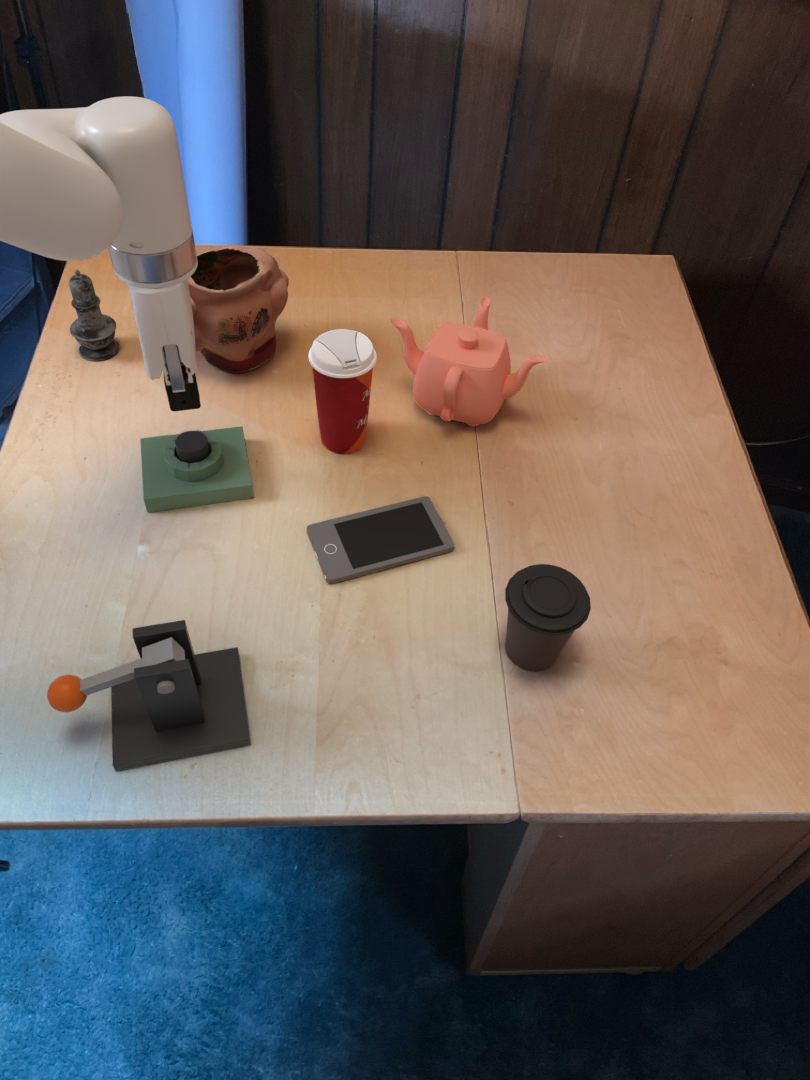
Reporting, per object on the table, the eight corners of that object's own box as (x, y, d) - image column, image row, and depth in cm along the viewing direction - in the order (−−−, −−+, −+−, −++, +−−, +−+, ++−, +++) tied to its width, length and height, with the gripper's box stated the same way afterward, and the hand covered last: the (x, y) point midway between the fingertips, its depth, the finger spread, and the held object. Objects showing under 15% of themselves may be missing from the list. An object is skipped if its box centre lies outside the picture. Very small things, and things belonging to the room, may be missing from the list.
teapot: (386, 384, 108) (389, 314, 99) (478, 358, 112) (488, 289, 104) (437, 454, 100) (445, 384, 91) (534, 423, 104) (550, 354, 96)
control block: (147, 512, 91) (140, 488, 88) (143, 451, 97) (137, 426, 94) (254, 498, 93) (250, 473, 90) (244, 439, 99) (240, 414, 96)
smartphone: (428, 498, 95) (428, 494, 94) (456, 549, 90) (456, 545, 89) (305, 528, 91) (305, 524, 90) (327, 584, 86) (327, 580, 85)
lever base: (115, 771, 72) (85, 714, 63) (113, 674, 78) (85, 611, 69) (251, 744, 74) (239, 686, 66) (238, 653, 80) (226, 589, 72)
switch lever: (60, 723, 70) (38, 708, 67) (61, 691, 72) (39, 675, 69) (189, 678, 69) (171, 661, 67) (186, 646, 71) (169, 629, 69)
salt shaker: (109, 330, 112) (88, 251, 102) (129, 352, 109) (109, 273, 100) (69, 345, 109) (43, 266, 100) (88, 368, 106) (64, 288, 97)
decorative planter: (205, 416, 102) (189, 323, 91) (142, 374, 106) (119, 280, 95) (314, 344, 112) (310, 253, 101) (251, 308, 117) (242, 218, 106)
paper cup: (382, 452, 99) (387, 360, 89) (323, 466, 97) (320, 374, 86) (361, 411, 104) (363, 319, 93) (304, 424, 102) (298, 332, 91)
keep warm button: (178, 465, 91) (175, 454, 90) (176, 443, 93) (173, 432, 92) (210, 461, 92) (208, 450, 90) (208, 439, 94) (205, 428, 92)
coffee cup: (486, 616, 85) (500, 557, 77) (562, 614, 85) (583, 556, 78) (497, 685, 79) (514, 629, 72) (578, 682, 80) (602, 626, 72)
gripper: (108, 211, 77) (146, 365, 91) (111, 303, 68) (153, 458, 82) (189, 206, 78) (214, 358, 92) (202, 294, 69) (227, 448, 83)
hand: (185, 404), depth 87 cm, fingers closed
